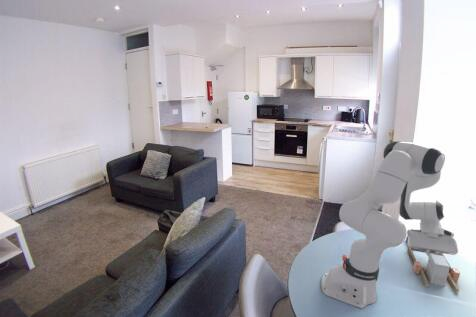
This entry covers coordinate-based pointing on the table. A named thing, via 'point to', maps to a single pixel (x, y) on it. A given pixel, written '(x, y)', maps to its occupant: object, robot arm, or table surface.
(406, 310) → the table surface
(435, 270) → the small box
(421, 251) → the dark grey tray
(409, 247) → the walnut channel
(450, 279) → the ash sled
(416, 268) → the posts
